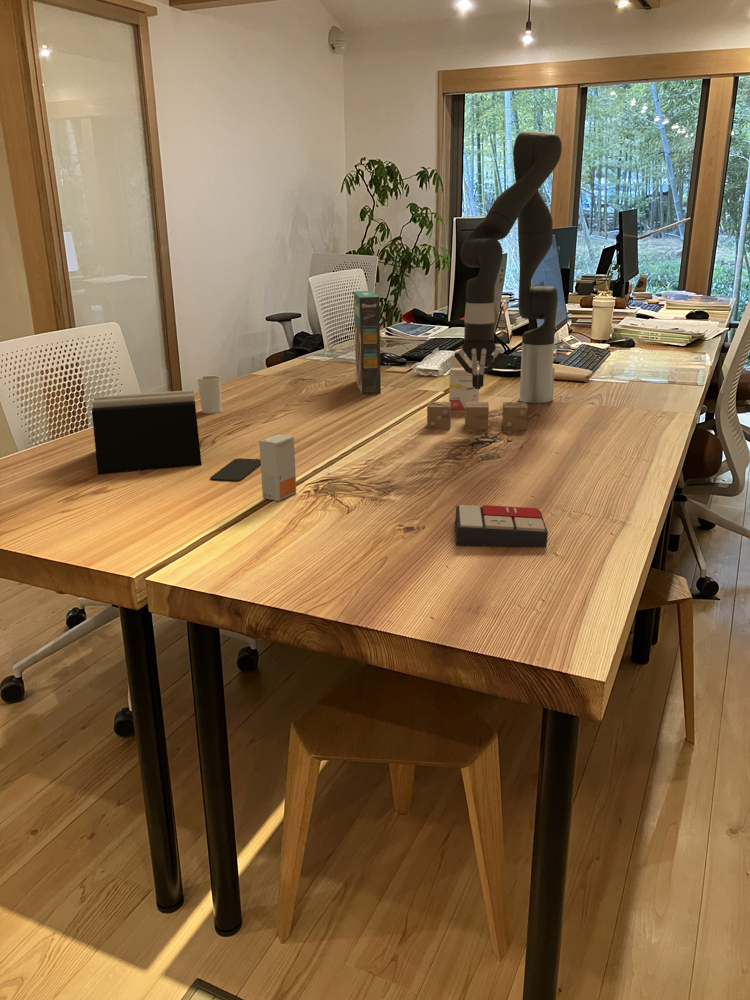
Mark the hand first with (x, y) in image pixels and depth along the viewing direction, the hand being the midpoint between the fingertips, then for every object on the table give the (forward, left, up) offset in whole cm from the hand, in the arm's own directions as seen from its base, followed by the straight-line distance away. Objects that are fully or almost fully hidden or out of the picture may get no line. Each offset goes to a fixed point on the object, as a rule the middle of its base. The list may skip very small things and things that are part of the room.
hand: (477, 388), depth 203 cm
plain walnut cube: (0, 0, -10) cm, 10 cm away
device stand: (+77, -32, -11) cm, 84 cm away
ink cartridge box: (-13, -18, -10) cm, 25 cm away
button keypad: (+51, +56, -11) cm, 76 cm away
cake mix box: (-11, -61, -10) cm, 63 cm away
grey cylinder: (+44, -65, -10) cm, 79 cm away
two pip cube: (-7, +7, -10) cm, 14 cm away
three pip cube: (+7, -7, -10) cm, 14 cm away
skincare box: (+69, +13, -10) cm, 71 cm away
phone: (+67, -8, -11) cm, 68 cm away
